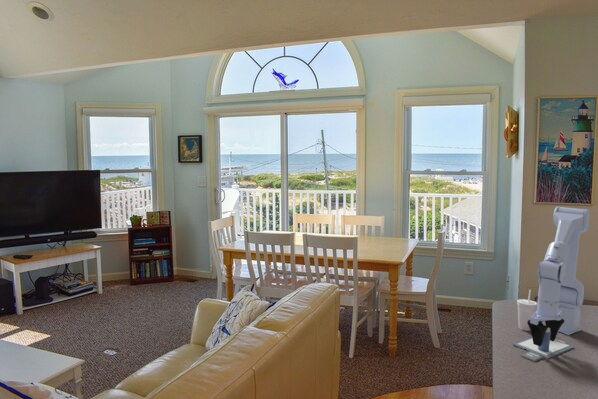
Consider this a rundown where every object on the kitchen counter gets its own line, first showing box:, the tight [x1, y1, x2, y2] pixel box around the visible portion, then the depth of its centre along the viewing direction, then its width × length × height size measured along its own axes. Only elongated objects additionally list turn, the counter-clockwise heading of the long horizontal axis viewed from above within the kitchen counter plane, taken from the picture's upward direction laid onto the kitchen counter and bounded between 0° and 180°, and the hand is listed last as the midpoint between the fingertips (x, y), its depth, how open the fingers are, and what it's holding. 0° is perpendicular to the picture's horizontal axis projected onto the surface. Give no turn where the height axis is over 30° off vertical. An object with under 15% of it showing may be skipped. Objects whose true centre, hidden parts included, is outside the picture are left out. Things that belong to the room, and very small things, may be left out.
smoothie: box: [516, 289, 537, 332], centre depth 159 cm, size 6×6×14 cm
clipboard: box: [512, 336, 575, 360], centre depth 145 cm, size 16×11×1 cm
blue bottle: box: [538, 328, 551, 352], centre depth 141 cm, size 3×3×7 cm
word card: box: [520, 351, 544, 362], centre depth 137 cm, size 5×4×1 cm
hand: (543, 342), depth 141 cm, fingers open, 7 cm apart
